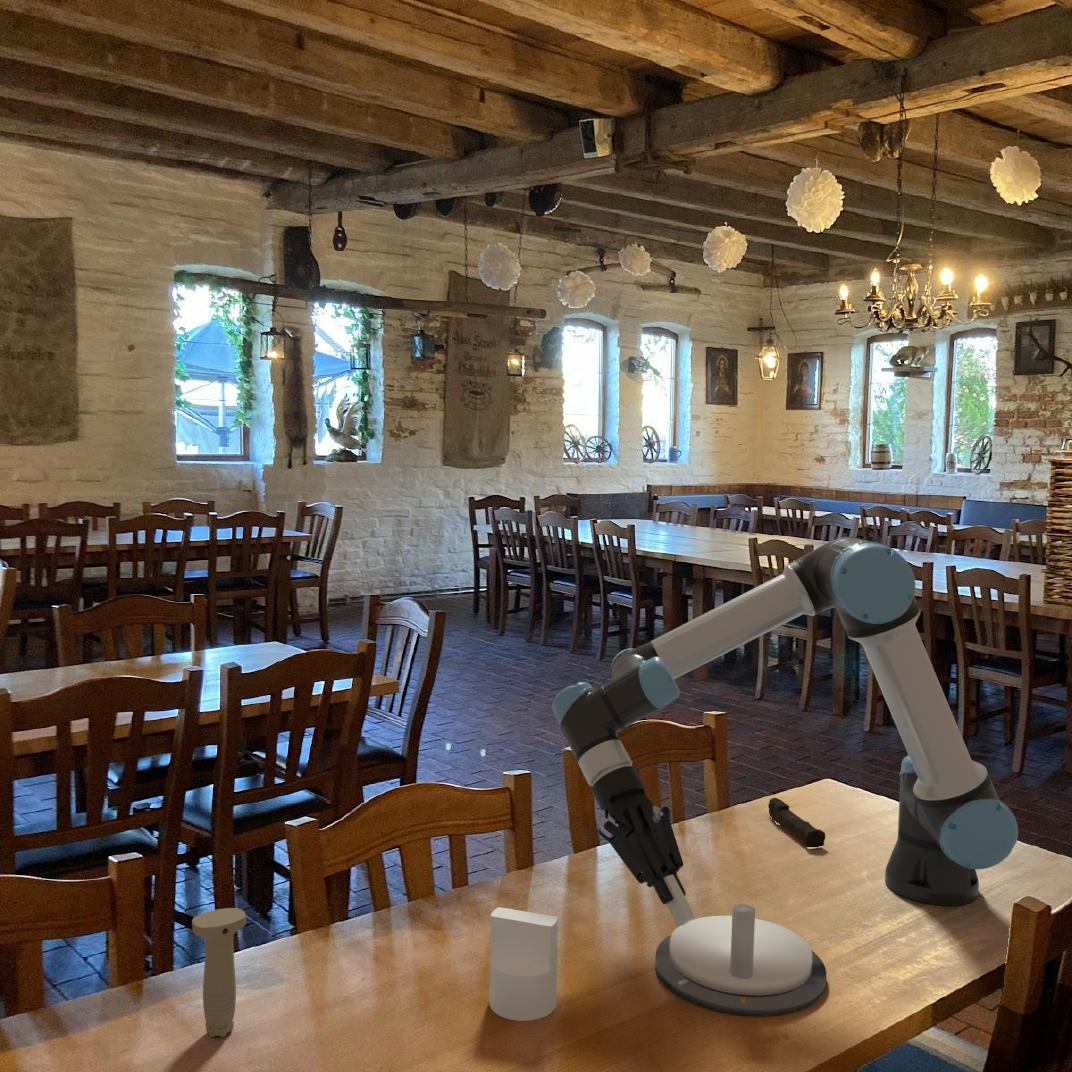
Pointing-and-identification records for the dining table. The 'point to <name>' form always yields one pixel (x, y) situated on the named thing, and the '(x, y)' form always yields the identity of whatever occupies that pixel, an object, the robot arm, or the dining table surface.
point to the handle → (219, 966)
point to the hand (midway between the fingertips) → (686, 921)
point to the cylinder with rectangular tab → (523, 964)
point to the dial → (741, 954)
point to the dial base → (736, 1002)
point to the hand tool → (795, 824)
